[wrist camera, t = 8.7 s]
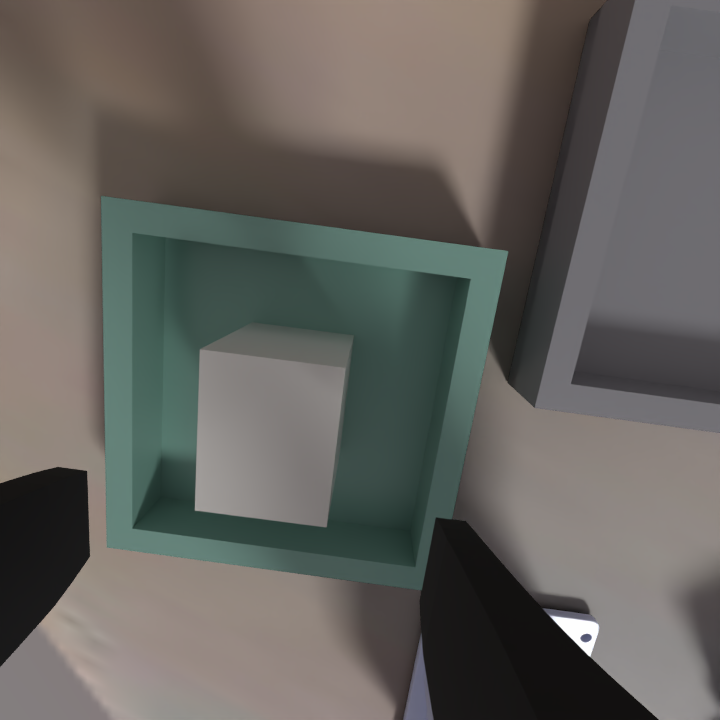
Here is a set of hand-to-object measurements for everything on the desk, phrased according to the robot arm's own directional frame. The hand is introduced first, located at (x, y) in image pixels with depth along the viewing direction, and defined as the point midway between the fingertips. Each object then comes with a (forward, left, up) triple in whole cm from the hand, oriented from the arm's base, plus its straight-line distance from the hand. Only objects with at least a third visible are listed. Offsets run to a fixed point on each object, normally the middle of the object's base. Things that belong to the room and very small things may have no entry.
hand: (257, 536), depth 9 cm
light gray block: (0, +1, -9) cm, 9 cm away
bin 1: (0, +1, -9) cm, 9 cm away
